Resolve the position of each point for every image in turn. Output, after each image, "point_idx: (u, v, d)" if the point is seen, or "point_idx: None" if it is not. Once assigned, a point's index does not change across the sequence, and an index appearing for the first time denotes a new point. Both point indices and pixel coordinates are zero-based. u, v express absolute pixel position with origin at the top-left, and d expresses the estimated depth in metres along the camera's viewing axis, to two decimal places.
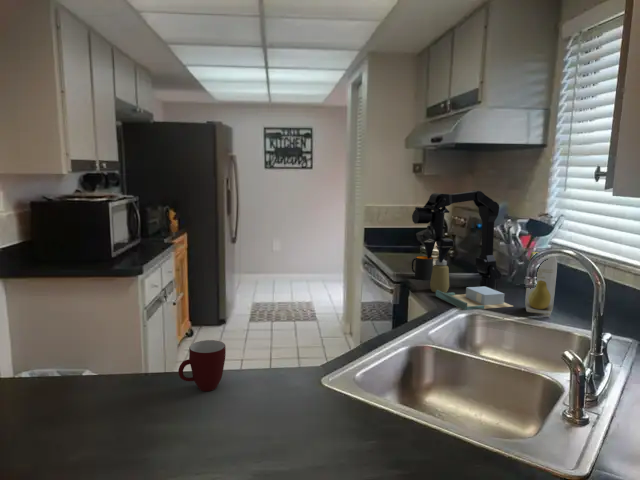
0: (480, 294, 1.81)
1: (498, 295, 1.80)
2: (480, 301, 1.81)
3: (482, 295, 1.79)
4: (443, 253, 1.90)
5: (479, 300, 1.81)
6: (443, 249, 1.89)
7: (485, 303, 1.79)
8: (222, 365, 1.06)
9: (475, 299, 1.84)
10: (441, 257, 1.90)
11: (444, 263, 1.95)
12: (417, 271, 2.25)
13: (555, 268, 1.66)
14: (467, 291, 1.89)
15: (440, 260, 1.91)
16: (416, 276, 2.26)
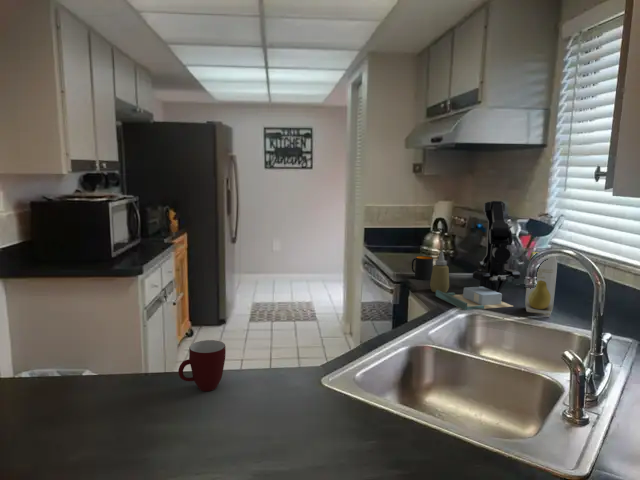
0: (478, 294, 1.80)
1: (496, 295, 1.80)
2: (478, 301, 1.80)
3: (480, 295, 1.79)
4: (493, 286, 1.85)
5: (477, 300, 1.81)
6: (493, 282, 1.85)
7: (483, 303, 1.78)
8: (222, 365, 1.06)
9: (472, 299, 1.83)
10: (493, 290, 1.86)
11: (444, 263, 1.95)
12: (417, 271, 2.25)
13: (555, 268, 1.66)
14: (464, 291, 1.88)
15: None
16: (416, 276, 2.26)
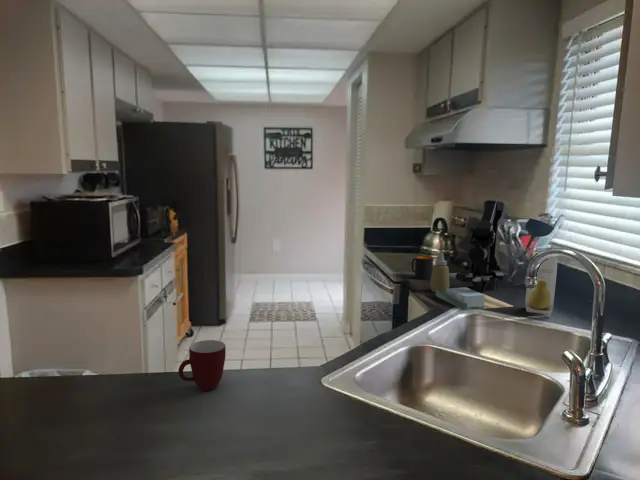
0: (460, 295, 1.78)
1: (478, 296, 1.77)
2: None
3: (462, 296, 1.77)
4: (476, 287, 1.83)
5: None
6: (476, 283, 1.83)
7: None
8: (222, 365, 1.06)
9: None
10: (476, 291, 1.84)
11: (444, 263, 1.95)
12: (417, 271, 2.25)
13: (555, 268, 1.66)
14: (447, 292, 1.86)
15: None
16: (416, 276, 2.26)
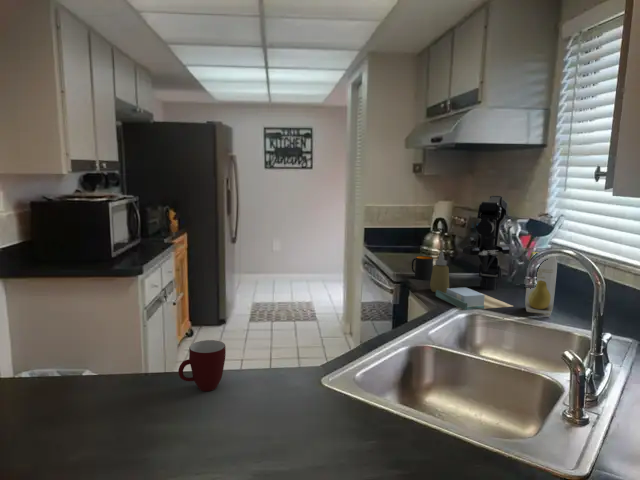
0: (460, 295, 1.78)
1: (478, 296, 1.77)
2: None
3: (462, 296, 1.77)
4: (483, 261, 1.88)
5: None
6: (483, 257, 1.88)
7: None
8: (222, 365, 1.06)
9: None
10: (483, 265, 1.89)
11: (444, 263, 1.95)
12: (417, 271, 2.25)
13: (555, 268, 1.66)
14: (447, 292, 1.86)
15: (483, 268, 1.90)
16: (416, 276, 2.26)
